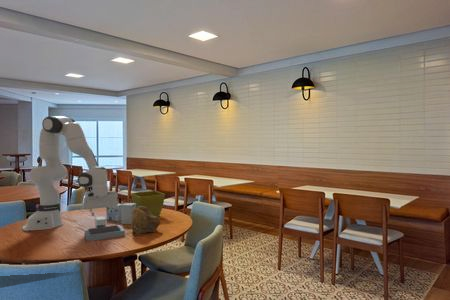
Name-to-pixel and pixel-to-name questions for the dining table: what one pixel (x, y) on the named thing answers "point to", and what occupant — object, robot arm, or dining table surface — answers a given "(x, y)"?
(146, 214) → the rough brown rock
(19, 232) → the dining table surface
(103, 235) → the grey shallow rectangular tray
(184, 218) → the dining table surface
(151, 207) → the flower pot
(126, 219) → the supplement box
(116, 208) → the light bulb box
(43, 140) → the robot arm
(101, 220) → the block
